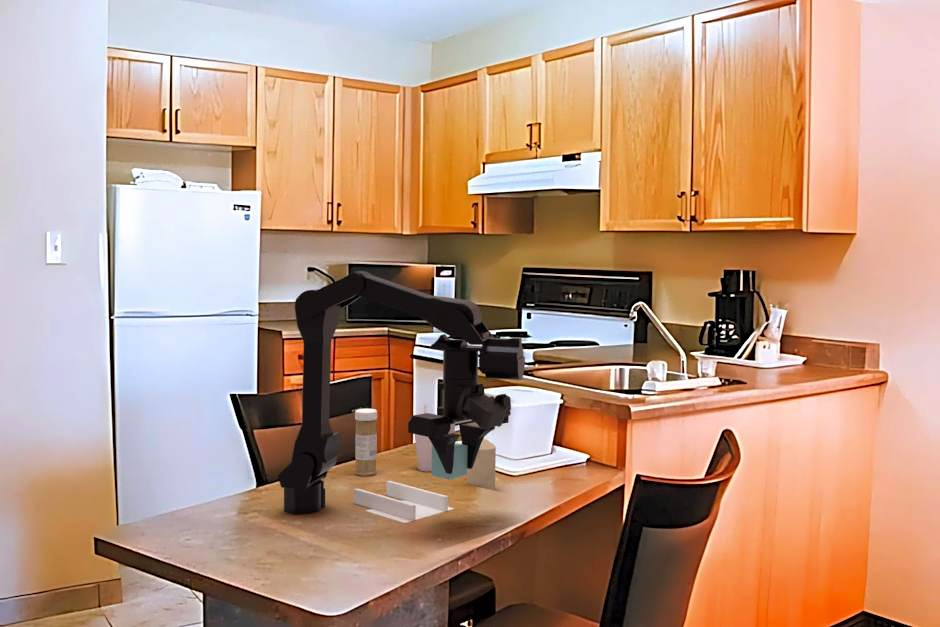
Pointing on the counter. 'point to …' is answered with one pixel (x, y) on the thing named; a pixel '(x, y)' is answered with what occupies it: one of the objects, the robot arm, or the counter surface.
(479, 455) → the tan upright block
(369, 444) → the sprinkles bottle
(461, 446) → the block
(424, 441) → the smoothie
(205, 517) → the counter surface
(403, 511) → the trough
